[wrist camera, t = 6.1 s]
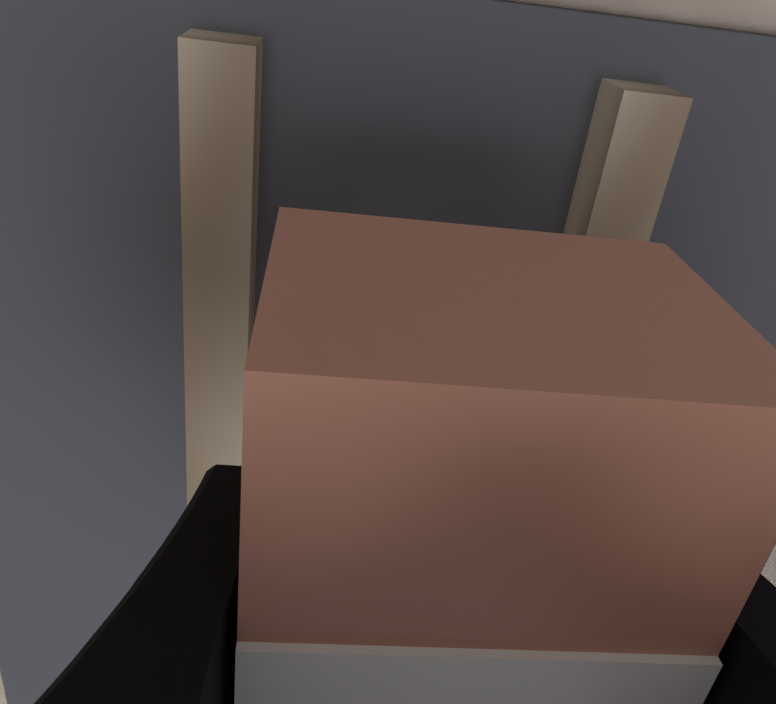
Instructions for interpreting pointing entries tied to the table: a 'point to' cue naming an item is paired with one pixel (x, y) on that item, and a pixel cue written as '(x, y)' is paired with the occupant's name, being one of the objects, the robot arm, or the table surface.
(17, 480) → the mat
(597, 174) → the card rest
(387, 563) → the card box
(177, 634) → the robot arm
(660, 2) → the table surface
